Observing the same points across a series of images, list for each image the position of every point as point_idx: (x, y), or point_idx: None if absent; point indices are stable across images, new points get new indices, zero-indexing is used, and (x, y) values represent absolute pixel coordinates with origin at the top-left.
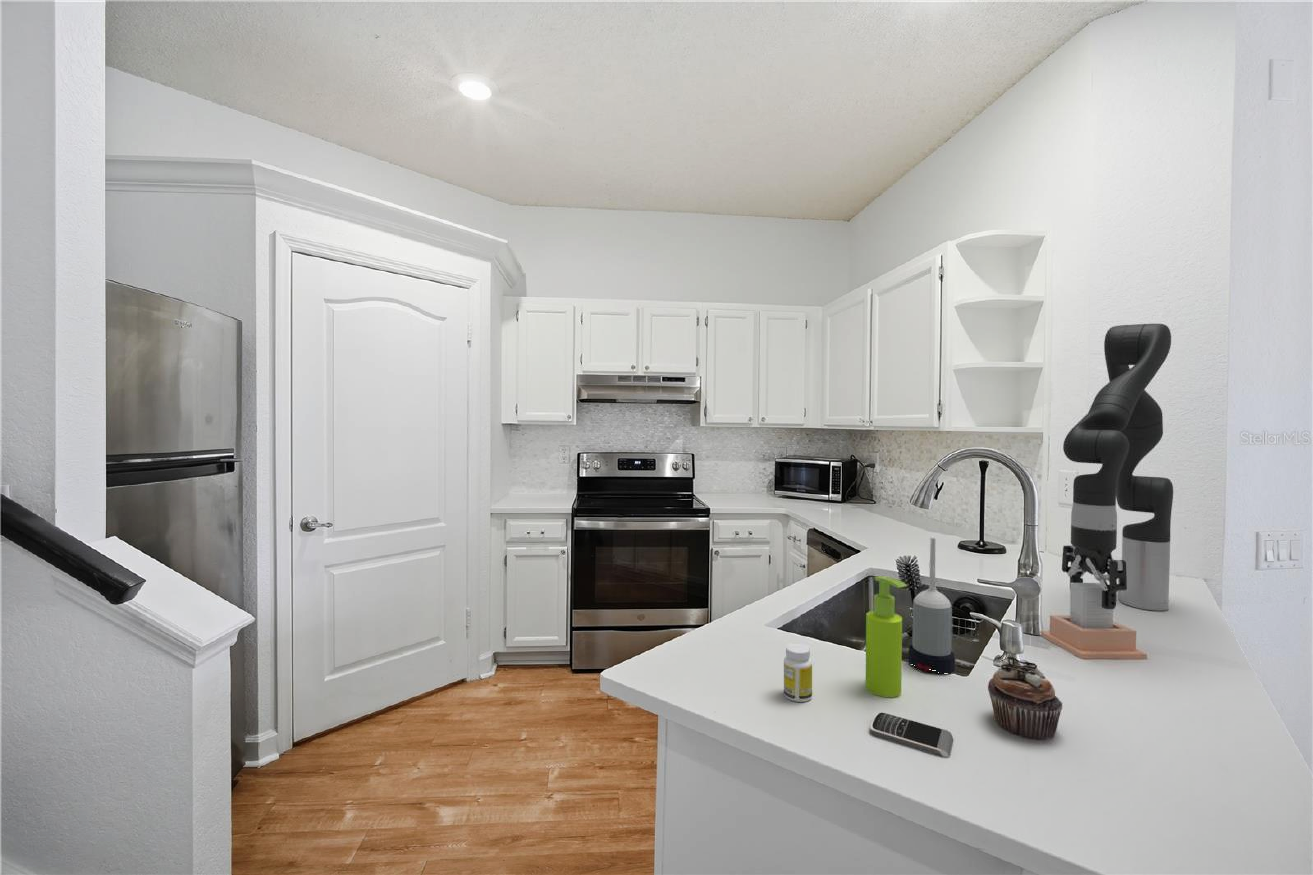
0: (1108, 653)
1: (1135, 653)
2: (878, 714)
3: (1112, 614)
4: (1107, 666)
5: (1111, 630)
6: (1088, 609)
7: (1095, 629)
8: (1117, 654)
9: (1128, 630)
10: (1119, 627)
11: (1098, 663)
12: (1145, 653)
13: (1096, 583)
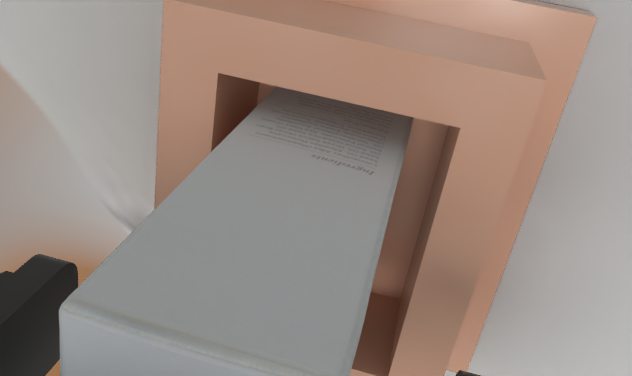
0: (503, 249)
1: (560, 90)
2: None
3: (389, 206)
4: (574, 328)
5: (467, 249)
6: None
7: (422, 330)
8: (525, 205)
9: (508, 123)
10: (427, 118)
11: (531, 333)
12: (585, 19)
13: (102, 368)
